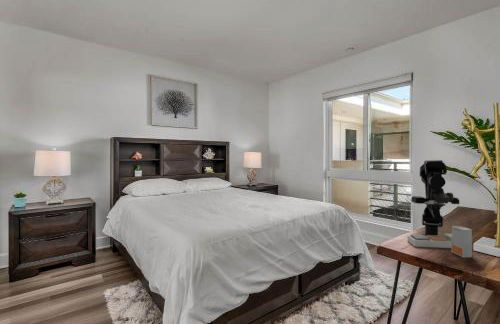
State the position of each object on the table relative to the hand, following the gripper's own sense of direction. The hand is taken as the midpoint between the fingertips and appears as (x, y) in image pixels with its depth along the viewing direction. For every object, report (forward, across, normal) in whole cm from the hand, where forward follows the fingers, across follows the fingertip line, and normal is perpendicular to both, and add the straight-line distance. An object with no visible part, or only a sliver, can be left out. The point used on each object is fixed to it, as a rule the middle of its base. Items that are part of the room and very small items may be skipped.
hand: (434, 217), depth 126 cm
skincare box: (+13, +4, -14) cm, 19 cm away
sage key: (+11, +8, -1) cm, 13 cm away
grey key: (+12, -7, -1) cm, 14 cm away
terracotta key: (+12, 0, -1) cm, 12 cm away
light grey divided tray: (+13, 0, -1) cm, 13 cm away
